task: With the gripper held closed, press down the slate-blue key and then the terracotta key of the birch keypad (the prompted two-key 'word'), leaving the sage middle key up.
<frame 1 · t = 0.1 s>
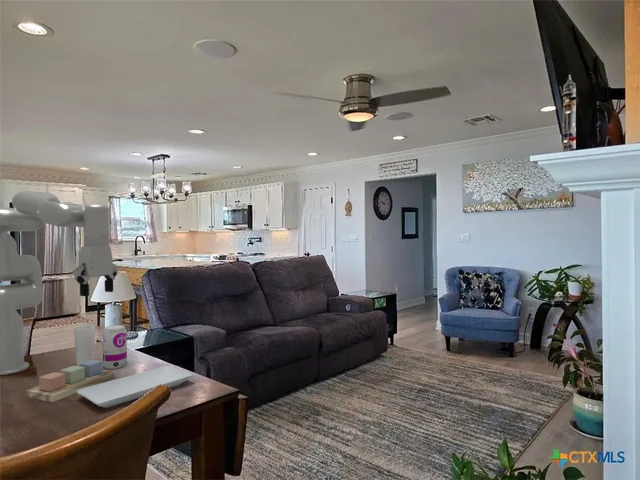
hand: (97, 293, 139), 31 cm above the table, fingers open, 9 cm apart
drinking glass: (84, 366, 161), on the table
tray: (137, 392, 136), on the table
supplement can: (115, 366, 161), on the table
key terracotta: (52, 381, 134), point 4 cm above the table, slide at 0.0 cm
key sage: (72, 374, 140), point 4 cm above the table, slide at 0.0 cm
key slate: (90, 368, 147), point 4 cm above the table, slide at 0.0 cm
keypad base: (72, 386, 140), on the table
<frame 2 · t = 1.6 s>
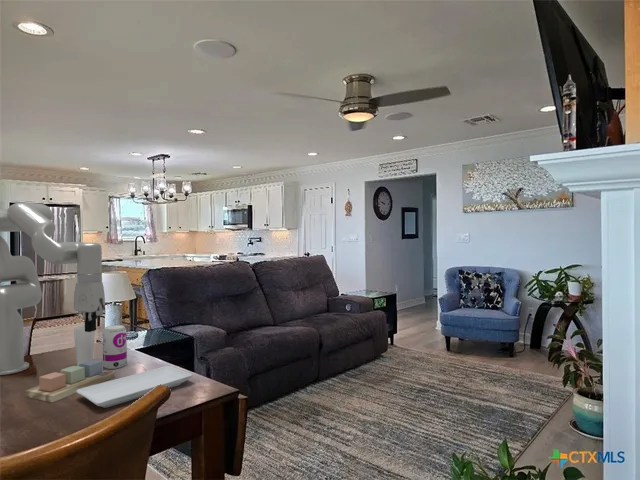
hand: (90, 330, 146), 17 cm above the table, fingers closed
nothing on the table moved.
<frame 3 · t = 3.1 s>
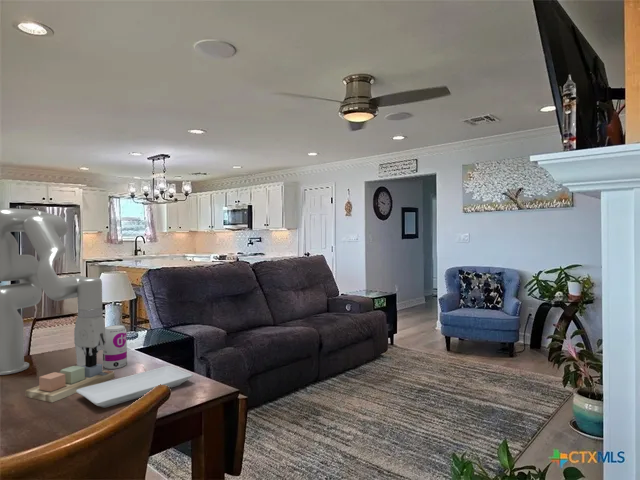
hand: (91, 365, 146), 5 cm above the table, fingers closed
key slate: (90, 371, 147), point 3 cm above the table, slide at 1.1 cm, touching gripper
everything else where it was.
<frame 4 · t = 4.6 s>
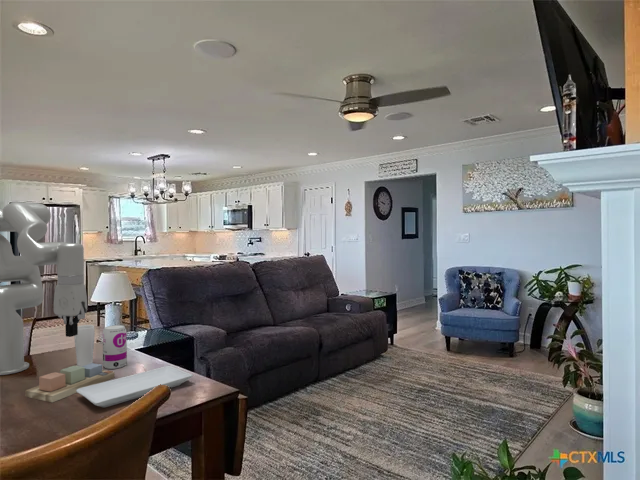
hand: (71, 335, 139), 17 cm above the table, fingers closed
key slate: (90, 371, 147), point 3 cm above the table, slide at 1.2 cm
everything else where it was.
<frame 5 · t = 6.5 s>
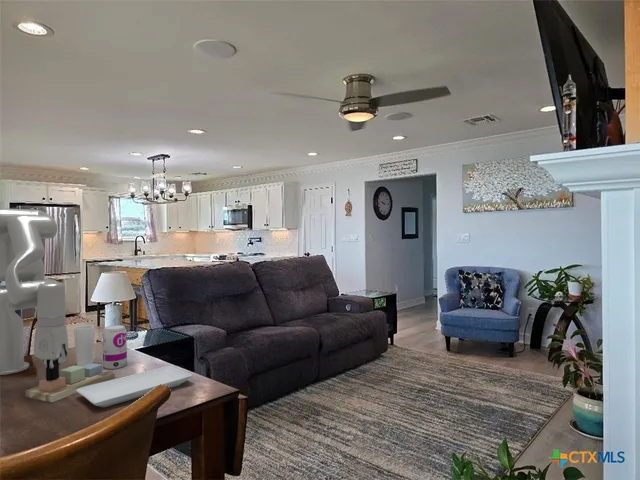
hand: (52, 379, 133), 5 cm above the table, fingers closed
key terracotta: (52, 385, 134), point 3 cm above the table, slide at 1.2 cm
everything else where it was.
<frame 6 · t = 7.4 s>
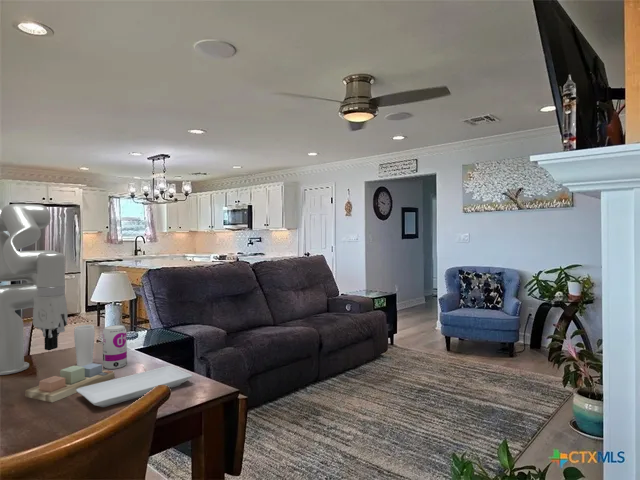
hand: (51, 348, 134), 14 cm above the table, fingers closed
nothing on the table moved.
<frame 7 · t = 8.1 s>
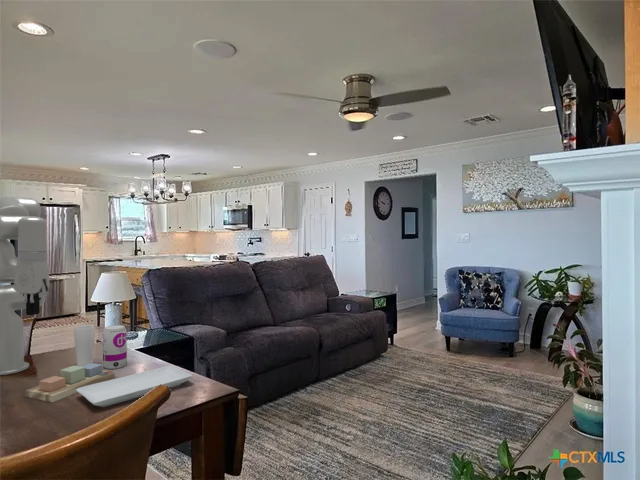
hand: (32, 314, 133), 25 cm above the table, fingers closed
nothing on the table moved.
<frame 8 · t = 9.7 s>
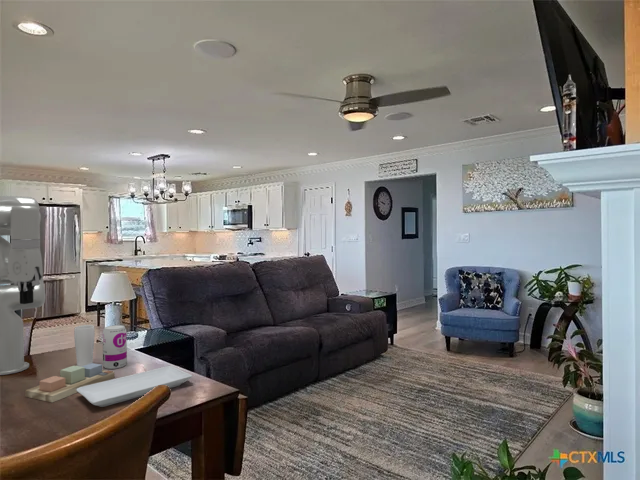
hand: (26, 303, 133), 29 cm above the table, fingers closed
nothing on the table moved.
at the end: key slate slide at 1.2 cm; key terracotta slide at 1.2 cm; key sage slide at 0.0 cm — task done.
